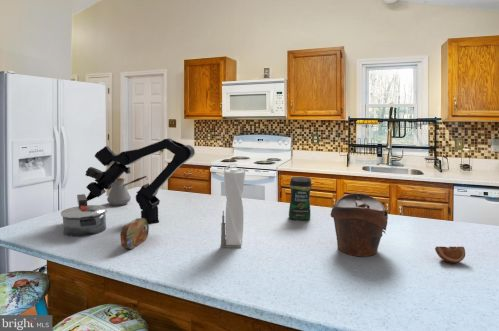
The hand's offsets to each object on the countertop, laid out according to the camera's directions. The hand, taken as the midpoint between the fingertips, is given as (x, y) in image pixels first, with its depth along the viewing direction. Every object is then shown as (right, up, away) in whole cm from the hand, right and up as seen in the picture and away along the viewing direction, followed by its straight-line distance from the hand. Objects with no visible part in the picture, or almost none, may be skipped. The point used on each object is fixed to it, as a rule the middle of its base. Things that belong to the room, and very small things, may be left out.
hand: (86, 200), depth 146 cm
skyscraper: (+63, -13, -24) cm, 69 cm away
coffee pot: (+7, -5, +31) cm, 32 cm away
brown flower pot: (+105, -14, -30) cm, 110 cm away
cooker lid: (+2, -3, -8) cm, 9 cm away
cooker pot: (+3, -10, -9) cm, 14 cm away
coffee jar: (+91, -9, +7) cm, 92 cm away
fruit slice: (+131, -15, -39) cm, 137 cm away
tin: (+29, -13, -25) cm, 41 cm away
